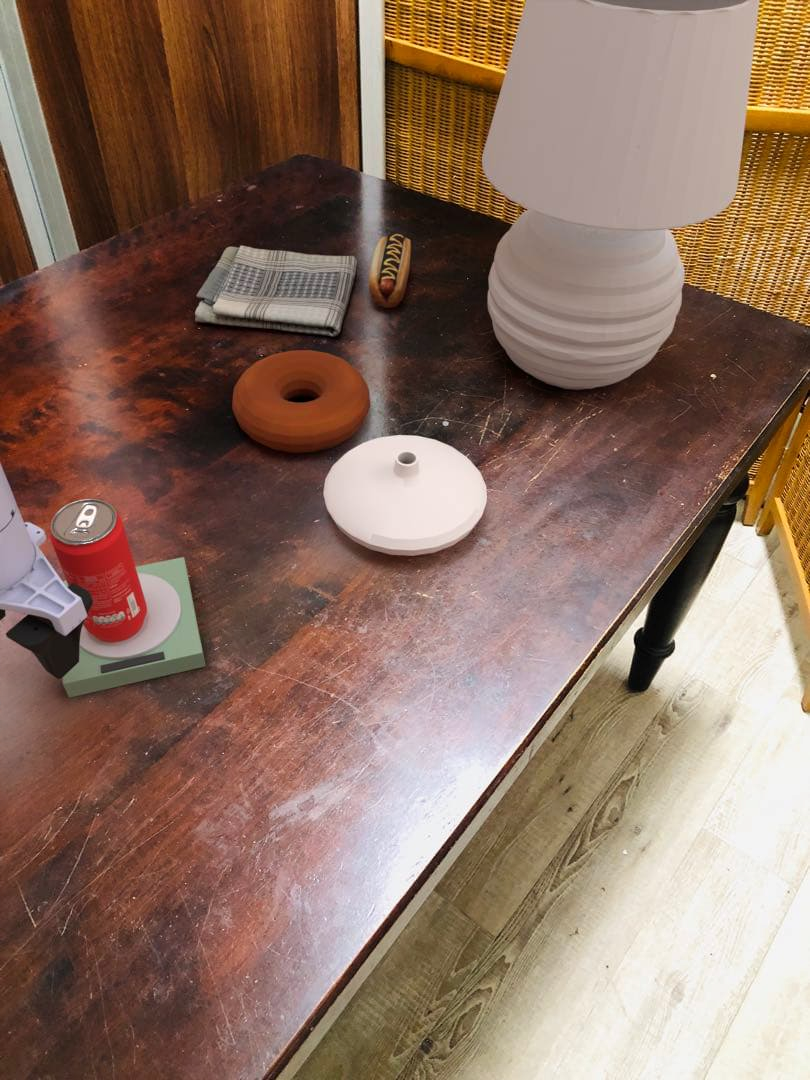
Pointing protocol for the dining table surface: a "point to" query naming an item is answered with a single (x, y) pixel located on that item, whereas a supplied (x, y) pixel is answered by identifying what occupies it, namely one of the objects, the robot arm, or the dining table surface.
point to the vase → (405, 495)
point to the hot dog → (389, 270)
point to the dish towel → (278, 291)
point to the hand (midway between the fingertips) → (28, 645)
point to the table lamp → (610, 173)
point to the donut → (306, 423)
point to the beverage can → (100, 567)
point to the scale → (144, 637)
